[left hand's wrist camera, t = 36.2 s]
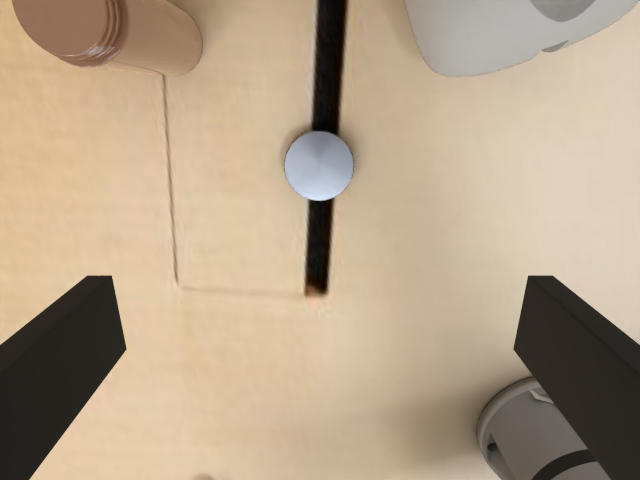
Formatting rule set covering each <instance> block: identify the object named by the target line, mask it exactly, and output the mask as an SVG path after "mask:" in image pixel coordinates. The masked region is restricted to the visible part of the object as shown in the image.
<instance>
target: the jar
mask: <svg viewBox="0 0 640 480" xmlns="http://www.w3.org/2000/svg"><path fill="white" fill-rule="evenodd" d="M12 3H13V7H14V11H15V13H16V16H17V18H18V20H19V22H20V24H21V26H22V27H23V29H24V31H25V32H26V33H27V34H28V36H29V37H30V38H31V39H32V40H33V41H34V42H35V43H37V44H38V45H39V46H40V47H42V48H43V49H44V50H46V51H48V52H49V53H51V54H53V55H54V56H56V57H58V58H59V59H61V60H63V61H65V62H67V63H69V64H72V65H74V66H79V67H86V68H96V69H107V70H117V71H127V72H137V73H148V74H158V75H168V76H179V75H183V74H186V73H188V72H189V71H191V70H192V69H193V68H194V67H195V66H196V65H197V63H198V61H199V59H200V57H201V53H202V37H201V33H200V31H199V28H198V26H197V24H196V23H195V21H194V20H193V19H192V18H191V16H189V15H188V14H187V13H186V12H185V11H183V10H181V9H180V8H178V7H176V6H174V5H173V4H171V3H169V2H168V1H166V0H12Z"/></svg>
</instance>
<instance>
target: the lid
mask: <svg viewBox="0 0 640 480" xmlns="http://www.w3.org/2000/svg"><path fill="white" fill-rule="evenodd" d="M352 155H353V154H352V152H351V151H350V149H349V147H348V146H347V142H345V141H344V140H343V139H342V138H341V137H339V136H338V134H335V133H333V132H331V131H327V130H326V129H325V130H321V129H316V130H314V129H313V130H311V131H307V132H305V133H302V134H301V135H300V136H299V137H297V138H296V139H295V140H294V141H292V144H291V146H290V148H289V149H288V151H287V152H286V157H285V163H284V170H285V175H286V178H287V180H288V183H289V184H290V186H291V187H292V188H293V190H295V191H296V192H297V193H298V194H299V195H301V196H303V197H304V198H307V199H310V200H316V201H323V200H328V199H331V198H334V197H336V196H337V195H339V194H340V193H342V192H343V191H344V190H345V188H346V187H347V186H348V184H349V183H350V181H351V179H352V175H353V170H354V162H353V157H352Z"/></svg>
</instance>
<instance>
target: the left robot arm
mask: <svg viewBox="0 0 640 480" xmlns="http://www.w3.org/2000/svg"><path fill="white" fill-rule="evenodd" d="M125 351H126V344H125V339H124V334H123V329H122V324H121V319H120V314H119V309H118V305H117V300H116V295H115V290H114V285H113V280H112V276H86V277H85V278H84V279H83V280H81V281H80V282H79V283H78V284H76V285H75V286H74V287H73V288H71V289H70V290H69V291H68V292H66V293H65V294H64V295H63V296H61V297H60V298H59V299H58V300H56V301H55V302H54V303H53V304H51V305H50V306H49V307H48V308H46V309H45V310H44V311H42V312H41V313H40V314H39V315H37V316H36V317H35V318H34V319H32V320H31V321H30V322H29V323H27V324H26V325H25V326H24V327H22V328H21V329H20V330H19V331H17V332H16V333H15V334H14V335H12V336H11V337H10V338H9V339H7V340H6V341H5V342H4V343H2V344H1V345H0V480H29V479H30V478H31V476H32V475H33V474H34V472H35V471H36V470H37V468H38V467H39V466H40V464H41V463H42V462H43V460H44V459H45V458H46V456H47V455H48V454H49V452H50V451H51V450H52V448H53V447H54V446H55V444H56V443H57V442H58V440H59V439H60V438H61V436H62V435H63V434H64V432H65V431H66V430H67V428H68V427H69V426H70V424H71V423H72V422H73V420H74V419H75V418H76V416H77V415H78V414H79V412H80V411H81V410H82V408H83V407H84V406H85V404H86V403H87V402H88V400H89V399H90V398H91V396H92V395H93V393H94V392H95V391H96V389H97V388H98V387H99V385H100V384H101V383H102V381H103V380H104V379H105V377H106V376H107V375H108V373H109V372H110V371H111V369H112V368H113V367H114V365H115V364H116V363H117V361H118V360H119V359H120V357H121V356H122V355H123V353H124V352H125ZM514 351H515V352H516V353H517V355H518V356H519V357H520V359H521V360H522V361H523V363H524V364H525V365H526V367H527V368H528V369H529V371H530V372H531V373H532V375H533V376H534V377H531V378H528V379H525V380H522V381H519V382H517V383H515V384H513V385H511V386H509V387H507V388H506V389H504V390H503V391H501V392H500V393H499V394H497V395H496V396H495V397H494V398H493V399H492V400H491V401H490V402H489V403H488V405H487V406H486V407H485V409H484V410H483V412H482V414H481V416H480V418H479V421H478V425H477V441H478V444H479V447H480V449H481V451H482V453H483V456H484V458H485V460H486V462H487V463H488V465H489V466H490V467H491V468H492V470H493V471H494V472H495V473H496V474H497V475H498V476H499V477H500V478H501V480H640V345H639V344H638V343H636V342H635V341H634V340H633V339H631V338H630V337H629V336H628V335H626V334H625V333H624V332H623V331H621V330H620V329H619V328H618V327H616V326H615V325H614V324H613V323H611V322H610V321H609V320H608V319H606V318H605V317H604V316H603V315H601V314H600V313H599V312H598V311H596V310H595V309H594V308H592V307H591V306H590V305H589V304H587V303H586V302H585V301H584V300H582V299H581V298H580V297H579V296H577V295H576V294H575V293H574V292H572V291H571V290H570V289H569V288H567V287H566V286H565V285H564V284H562V283H561V282H560V281H559V280H557V279H556V278H555V277H554V276H528V280H527V285H526V290H525V295H524V300H523V305H522V309H521V314H520V319H519V324H518V329H517V334H516V339H515V344H514Z"/></svg>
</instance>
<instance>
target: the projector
mask: <svg viewBox="0 0 640 480" xmlns="http://www.w3.org/2000/svg"><path fill="white" fill-rule="evenodd" d="M639 1H640V0H405V4H406V9H407V13H408V17H409V20H410V24H411V27H412V31H413V34H414V37H415V40H416V43H417V46H418V48H419V50H420V53H421V55H422V57H423V59H424V60H425V62H426V64H427V65H428V66H429V67H430V68H431V69H432V70H433V71H434V72H436V73H438V74H441V75H444V76H449V77H470V76H477V75H483V74H487V73H491V72H495V71H499V70H502V69H505V68H508V67H512V66H515V65H518V64H521V63H523V62H526V61H529V60H531V59H532V58H534V57H535V56H536V55H537V54H538V53H539V52H540V51H544V52H553V51H556V50H559V49H561V48H564V47H567V46H569V45H571V44H574V43H576V42H578V41H581V40H583V39H585V38H587V37H589V36H592V35H594V34H596V33H598V32H599V31H601V30H603V29H605V28H607V27H608V26H610V25H611V24H613V23H614V22H616V21H618V20H619V19H620V18H622V17H623V16H624V15H625V14H626V13H628V12H629V11H630V10H631V9H632V8H633V7H634V6H635V5H636V4H637V3H638V2H639Z"/></svg>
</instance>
